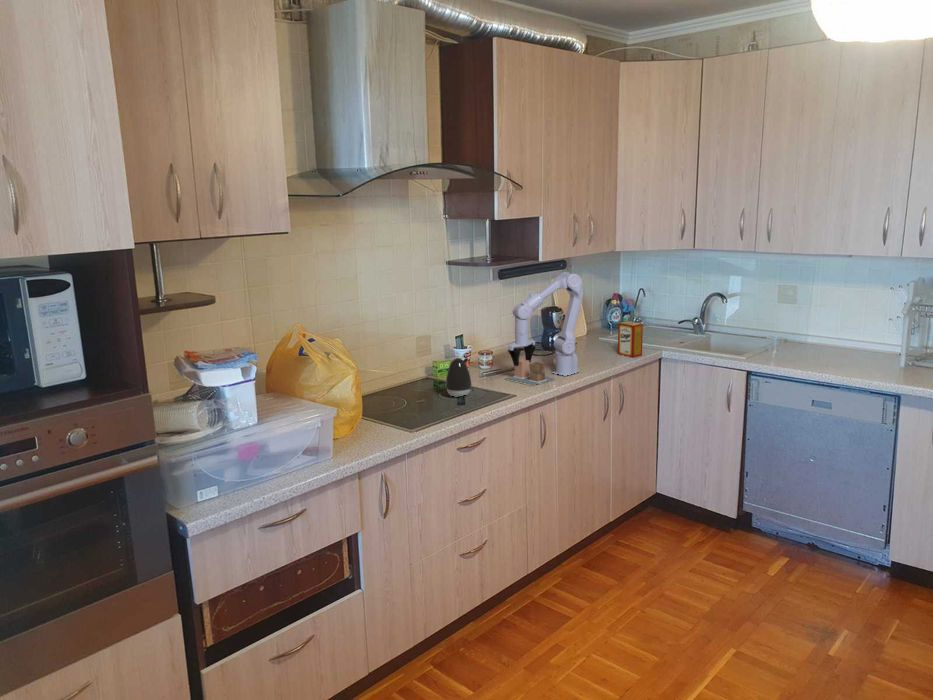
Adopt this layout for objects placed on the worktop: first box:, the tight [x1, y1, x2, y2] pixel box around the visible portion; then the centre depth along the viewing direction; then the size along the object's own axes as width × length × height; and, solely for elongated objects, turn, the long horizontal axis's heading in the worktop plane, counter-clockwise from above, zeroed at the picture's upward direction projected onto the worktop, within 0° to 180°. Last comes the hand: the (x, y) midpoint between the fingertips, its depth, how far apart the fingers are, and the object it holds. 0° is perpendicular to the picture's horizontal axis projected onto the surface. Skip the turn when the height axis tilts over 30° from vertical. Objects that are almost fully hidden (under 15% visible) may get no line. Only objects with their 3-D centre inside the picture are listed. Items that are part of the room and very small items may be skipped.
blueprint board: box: [504, 372, 556, 385], centre depth 302 cm, size 14×16×1 cm
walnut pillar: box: [529, 361, 546, 382], centre depth 298 cm, size 4×4×7 cm
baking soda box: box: [617, 320, 644, 359], centre depth 341 cm, size 10×6×16 cm
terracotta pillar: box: [513, 358, 530, 378], centre depth 304 cm, size 4×4×7 cm
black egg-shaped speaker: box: [445, 358, 472, 398], centre depth 279 cm, size 10×10×15 cm
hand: (522, 364), depth 304 cm, fingers open, 7 cm apart
